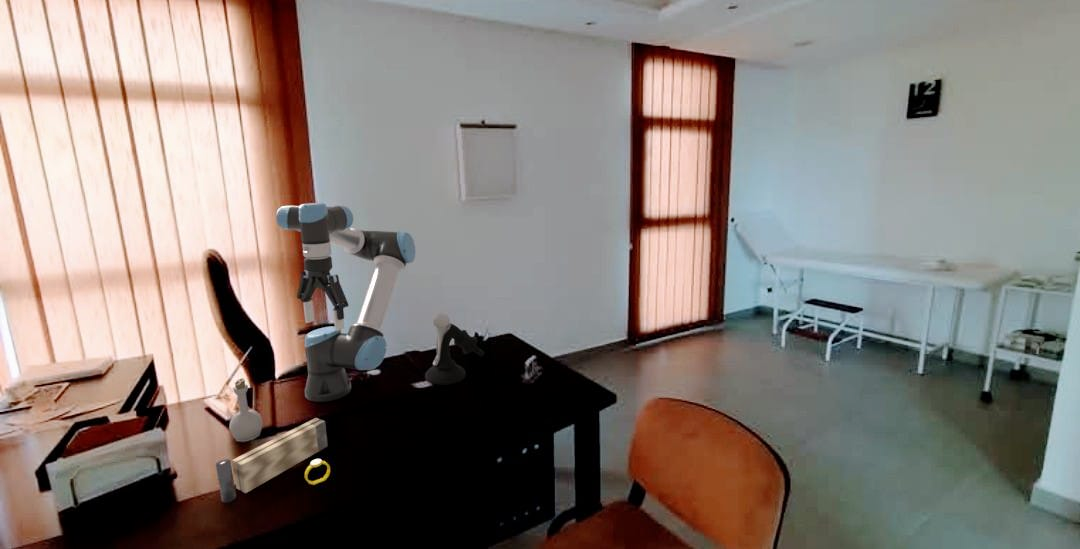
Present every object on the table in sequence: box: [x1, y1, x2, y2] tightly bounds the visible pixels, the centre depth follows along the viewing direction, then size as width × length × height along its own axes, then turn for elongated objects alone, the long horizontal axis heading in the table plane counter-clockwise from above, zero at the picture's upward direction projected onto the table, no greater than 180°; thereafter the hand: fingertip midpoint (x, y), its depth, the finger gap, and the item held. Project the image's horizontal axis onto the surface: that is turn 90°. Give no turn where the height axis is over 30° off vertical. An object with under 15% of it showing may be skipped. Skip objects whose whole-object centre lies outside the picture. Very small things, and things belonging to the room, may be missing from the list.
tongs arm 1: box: [231, 417, 321, 491], centre depth 138 cm, size 24×2×8 cm, turn 150°
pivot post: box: [215, 458, 237, 504], centre depth 124 cm, size 3×3×10 cm
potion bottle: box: [228, 377, 264, 443], centre depth 151 cm, size 9×9×18 cm
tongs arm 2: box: [238, 419, 329, 494], centre depth 137 cm, size 24×2×8 cm, turn 150°
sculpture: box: [424, 312, 486, 386], centre depth 193 cm, size 15×24×25 cm, turn 120°
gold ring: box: [304, 458, 331, 486], centre depth 131 cm, size 6×3×6 cm, turn 129°
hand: (324, 325), depth 154 cm, fingers open, 13 cm apart
